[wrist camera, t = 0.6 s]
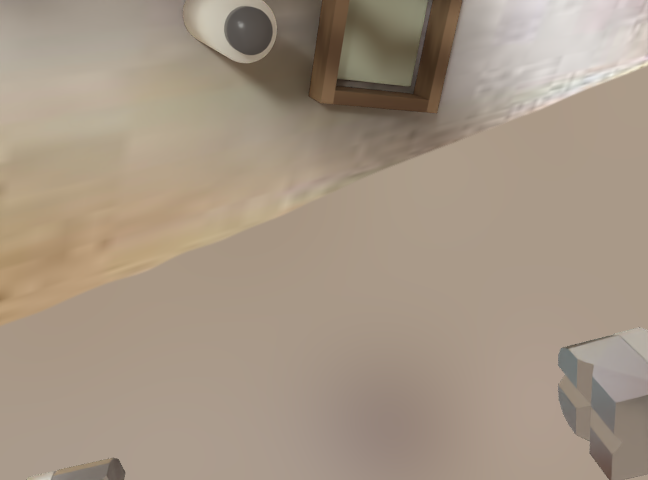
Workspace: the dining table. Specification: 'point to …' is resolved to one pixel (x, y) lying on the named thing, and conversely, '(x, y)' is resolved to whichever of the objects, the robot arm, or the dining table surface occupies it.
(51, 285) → the dining table surface
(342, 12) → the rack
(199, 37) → the white capped tube
